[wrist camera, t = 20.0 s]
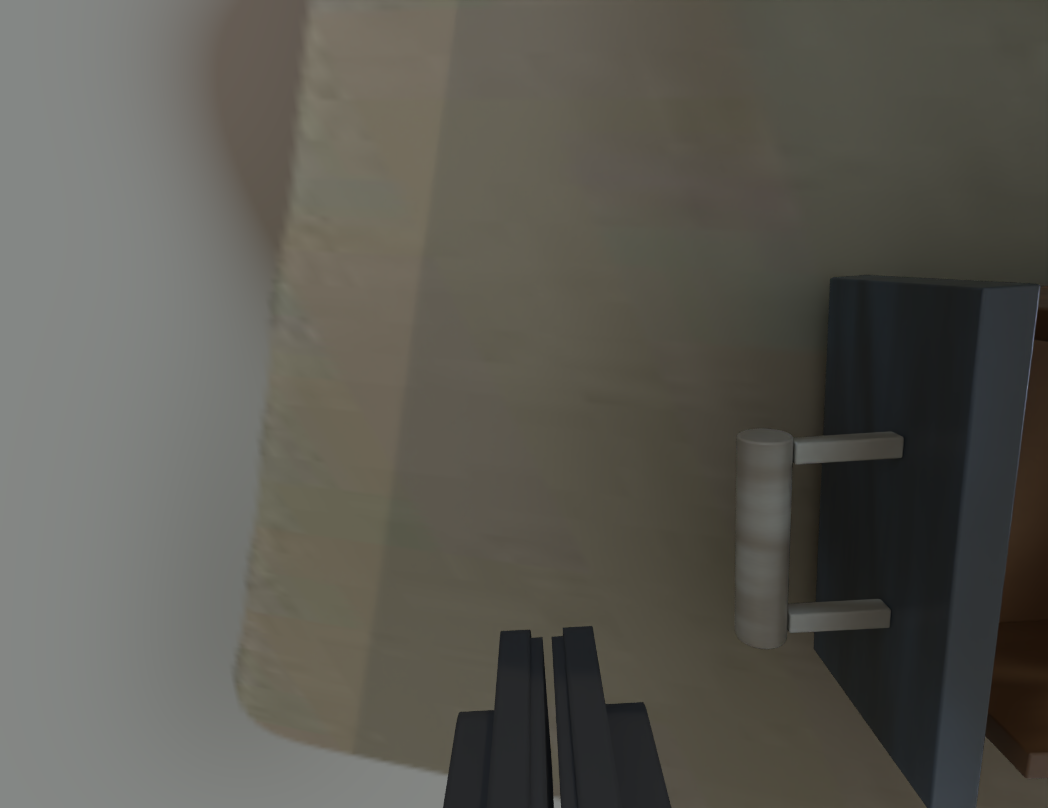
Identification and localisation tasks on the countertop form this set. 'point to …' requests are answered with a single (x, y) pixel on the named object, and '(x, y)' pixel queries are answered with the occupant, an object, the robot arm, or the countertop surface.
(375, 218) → the countertop surface
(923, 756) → the drawer
